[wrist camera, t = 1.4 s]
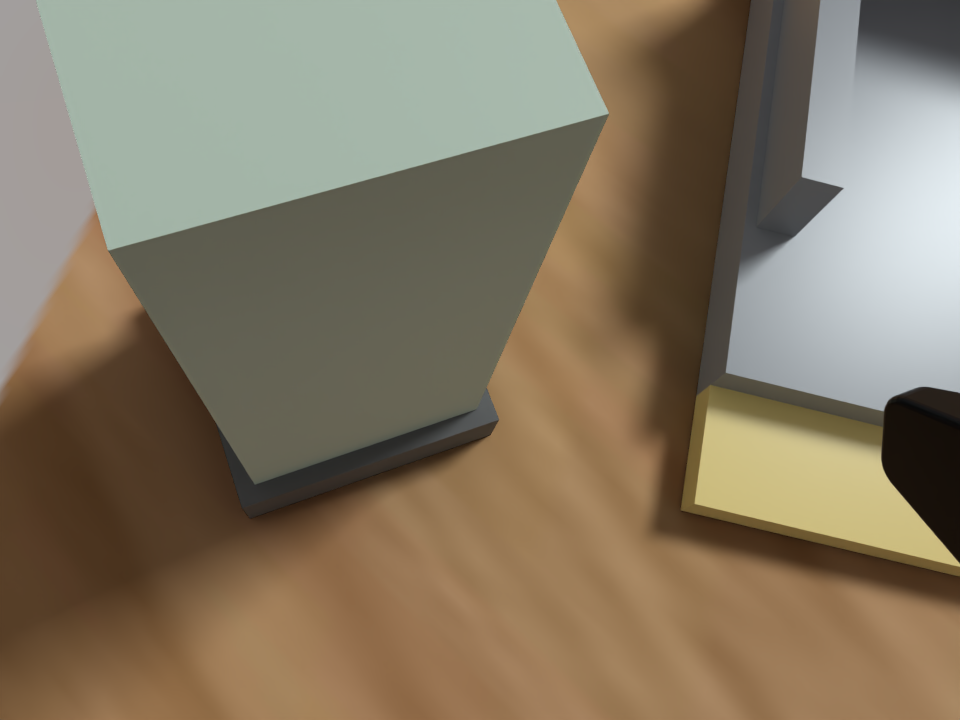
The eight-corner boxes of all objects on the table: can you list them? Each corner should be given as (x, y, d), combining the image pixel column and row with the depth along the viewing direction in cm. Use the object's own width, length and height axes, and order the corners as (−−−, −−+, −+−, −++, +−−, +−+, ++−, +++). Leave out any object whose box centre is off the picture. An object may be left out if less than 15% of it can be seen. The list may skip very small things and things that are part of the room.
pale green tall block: (490, 434, 22) (657, 135, 10) (250, 518, 21) (74, 301, 8) (408, 223, 24) (459, -276, 11) (180, 289, 23) (-61, -192, 10)
